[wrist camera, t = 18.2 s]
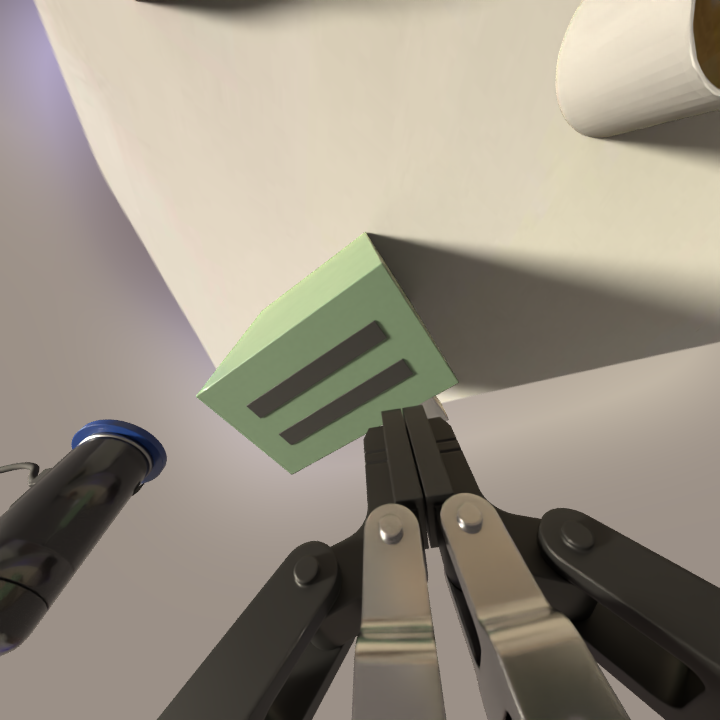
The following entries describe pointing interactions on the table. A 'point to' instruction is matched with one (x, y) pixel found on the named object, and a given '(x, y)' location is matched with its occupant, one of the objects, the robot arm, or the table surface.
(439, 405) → the toaster lever
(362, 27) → the table surface
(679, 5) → the coffee mug
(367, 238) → the toaster
